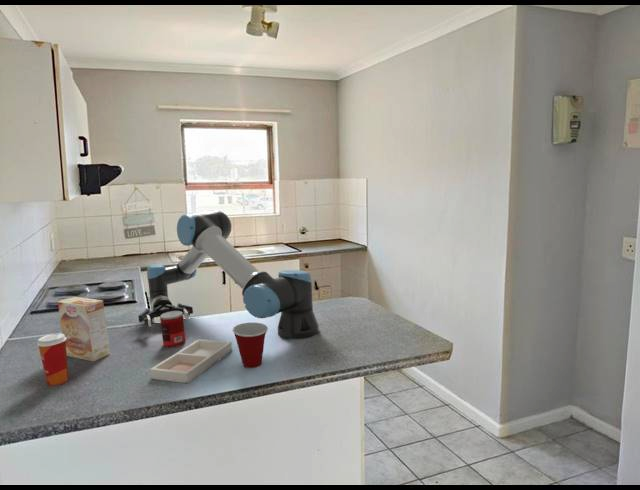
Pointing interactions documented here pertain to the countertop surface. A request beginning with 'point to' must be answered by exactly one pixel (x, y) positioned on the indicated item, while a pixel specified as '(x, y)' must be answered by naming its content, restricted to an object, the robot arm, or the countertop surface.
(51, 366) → the paper cup
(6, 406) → the countertop surface
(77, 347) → the coffeecake box
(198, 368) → the divided tray
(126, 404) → the countertop surface
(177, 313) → the canned food
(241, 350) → the plastic cup
